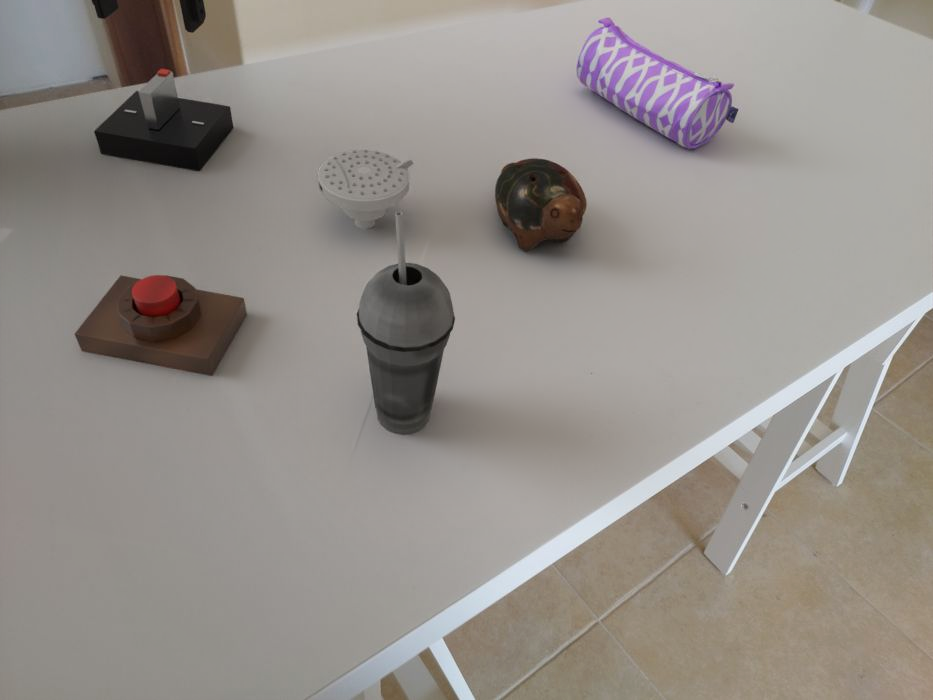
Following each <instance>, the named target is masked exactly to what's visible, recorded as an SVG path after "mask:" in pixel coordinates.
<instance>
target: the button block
mask: <svg viewBox="0 0 933 700" xmlns="http://www.w3.org/2000/svg"><path fill="white" fill-rule="evenodd" d="M163 276H167V277H169V278H171V279H173V280H174V281H175V283H176V286H177V290H178V293H179V297H180V304H179V306H178V308H177V309H176V310H175V311H173V312H171V313H170V314H168V315H164V316H158V317H148V316H144V315H142V314H141V313H140V312H139V311H138V310H137V307H136V304H135V301H134V298H133V295H132V289H133V287H134V285H135V284H136V283H137V282H138V281H140V280H141V279H142V278H136V277H132V276H127V275H119V277H118V278H117V279H116V280H115V282H114V283H113V284H112V286H111V287H109V289H108V290H107V292H106V293H105V295H104V296H103V297H102V298H101V300H100V301H99V302H98V303H97V304H96V306H95V307H94V308H93V310H92V311H91V312H90V313H89V315H88V316H87V317H86V318H85V320H84V321H83V322H82V323H81V325H80V326H79V327H78V329H77V330H76V331H75V332H74V337H75V340H76V341H77V344H78V347H79V348H80V351H81V352H84V353H90V354H94V355H100V356H106V357H110V358H116V359H121V360H126V361H131V362H137V363H142V364H148V365H153V366H157V367H162V368H168V369H172V370H173V369H174V370H178V371H183V372H189V373H193V374H194V373H195V374H199V375H205V376H209V377H213V376H214V374H215V372H216V370H217V369H218V367H219V365H220V364H221V361H222V360H223V358H224V356H225V354H226V353H227V351H228V349H229V348H230V346H231V344H232V342H233V341H234V339H235V337H236V335H237V334H238V331H239V330H240V328H241V327H242V325H243V323H244V321H245V320H246V318H247V316H248V313H247V306H246V302H245V301H246V300H245V298H244V297H240V296H235V295H229V294H225V293H224V294H223V293H219V292H213V291H208V290H202V289H197V288H196V287H195V286H194V285H192V284H191V283H190V282H188V281H187V280H186V279H185V278H182V277H178V276H177V277H176V276H173V275H163Z"/></svg>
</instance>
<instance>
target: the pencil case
mask: <svg viewBox="0 0 933 700" xmlns="http://www.w3.org/2000/svg"><path fill="white" fill-rule="evenodd" d="M597 21H598V22H597V23H598V24H602V25H603V26H600V27H597V28H596V29H594V30H593V31H592V32H591V33H590V34H589V35H588V37H587V38H586V40H585V42H584V44H583V46H582V49H581V50H580V53H579V56H578V58H577V63H576V77H577V79H578V81H579V82H580V84H582V85H583V86H584V87H587V88H588V89H589V90H590V91H592V92H594V93H595V94H597V95H599V96H600V97H602V98H603V99H605V100H606V101H608V102H609V103H611V104H612V105H614V106H616V108H618V109H620V110H621V111H623V112H624V113H626V114H628V115H629V116H631V117H633V118H634V119H636V120H637V121H639V122H640V123H642V124H644V125H646V126H647V127H650V128H651V129H652V130H654V131H656V132H657V133H659V134H661V135H662V136H664V137H665V138H668V139H670V140H671V141H673V142H675V143H676V144H678V145H679V146H681V147H683V148H686V149H689V150H693V149H694V150H695V149H697V148H699V147H700V146H703V145H705V144H706V143H708V142H710V141H711V140H712V139H713V138H714V137H716V135H717V134H718V133H719V131H720V130H721V129H722V127H723V126H724V124H725V122H726V121H727V122H729V123H730V124H734V122H735V120H736V117H737V115H738V112H739V108H738V107H734V106H732V104H733V95H732V93H731V92H730V90H732V89H733V87H734V86H735V83H733V82H731V83H730V82H727V83H724V82H722V81H720V80H719V78H718V77H716V76H712V77H709V76H707V75H704V74H701V73H696V72H695V71H692V70H690V69H688V68H687V67H686V68H685V67H684V66H682V65H680V64H679V63H676V62H674V61H672V60H668V59H667V58H664V57H663V56H661V55H660V54H658V53H656V52H654V51H652V50H650V49H649V48H647V47H645V46H644V45H642V44H641V43H638V42H637V41H635V40H634V39H633V38H632V37H630V36H629V35H628V34H627V33H626V32H625V31H624V30H622V28H621V27H620V26H618V25H616V24H615V22H614V21H613V20H612V18H611V17H608V16H607V17H604V18H601V19H598V20H597Z"/></svg>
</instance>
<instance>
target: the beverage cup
mask: <svg viewBox="0 0 933 700" xmlns="http://www.w3.org/2000/svg"><path fill="white" fill-rule="evenodd" d="M394 216H395V217H394V219H395V233H396V249H397V263H394V264H391V265H388V266H386V267H384V268H382V269H380V270H379V271H377V272H376V273H375V275H373V277H372V278H371V279H370V280H369V281H368V282H367V283H366V285H365V286H364V289H363V291H362V293H361V296H360V301H359V303H358V304H359V305H358V309H357V312H356V321H357V325H358V328H359V329H360V334H361V337H362V340H363V343H364V345H365V347H366V355H367V362H368V367H369V374H370V381H371V389H372V395H373V403H374V408H375V410H376V417H377V420H378V422H379V423H380V425H381V426H382V427H383V428H384V429H385V430H386V431H389V432H391V433H393V434H399V435H410V434H413V433H416V432H419V431H421V429H423V428H424V427H425V426H426V425H427V423H428V422H429V419H430V416H431V411H432V409H433V405H434V401H435V396H436V390H437V386H438V381H439V376H440V372H441V367H442V361H443V356H444V351H445V348H446V347H447V345H448V342H449V339H450V336H451V332H452V331H453V330H454V326H455V321H456V316H455V312H454V306H453V301H452V297H451V293H450V291H449V289H448V287H447V285H446V284H445V283H444V281H443V280H442V279H441V277H440V276H439V275H437V274H436V273H435V272H434V271H432V269H430V268H428V267H426V266H423V265H421V264H418V263H413V262H406V248H405V247H406V246H405V233H404V232H405V229H404V228H405V227H404V214H403V212H402V211H396V212H395V214H394Z"/></svg>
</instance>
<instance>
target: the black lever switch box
mask: <svg viewBox="0 0 933 700" xmlns="http://www.w3.org/2000/svg"><path fill="white" fill-rule="evenodd" d="M139 91H140V90H135V91H134V92H133V93H132V94H131V95H130V96H129V97H128V98H127V99H126V100H125V101H124V102H123V103H122V104H121V105H119V106H118V108H116V110H114V111H113V112H112V113H111V114H110V115H109V116H108V117H107V118H106V119H105V120H103V122H102V123H100V125H98V127H96V128H95V130H93V132H94V135H95V139H96V143H97V146H98V148H99V152H100V155H105V156H111V157H116V158H122V159H128V160H132V161H133V160H134V161H140V162H144V163H146V162H147V163H151V164H156V165H162V166H168V167H173V168H179V169H186V170H192V171H198V172H201V170H202V169H203V168H204V166H205V165H206V164H207V162H208V161H209V160H210V159H211V157H212V156H213V155H214V154H215V153H216V151H218V149H219V148H220V146H221V145H222V144H223V143H224V142H225V140H226V139H227V137H229V135H230V134H231V132H233V130H234V128H235V127H234V122H233V117H232V115H233V114H232V109H231V106H230V105H225V104H218V103H213V102H207V101H201V100H195V99H189V98H182V97H178V100H179V105H180V108H179V109H178V110H177V111H176V112H175V113H174V115H173V116H172V117H171V118H170V119H169V120H168V121H167V122H166V123H165V124H164V125H163V126H162V127H161V128H160V130H156V129H150V128H148V127H147V123H146V119H145V115H144V112H143V108H142V104H141V100H140V96H139Z"/></svg>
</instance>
